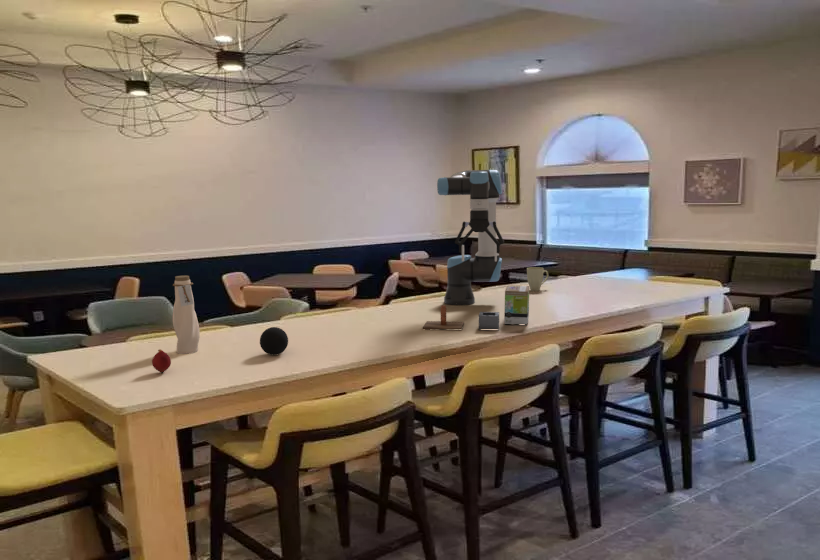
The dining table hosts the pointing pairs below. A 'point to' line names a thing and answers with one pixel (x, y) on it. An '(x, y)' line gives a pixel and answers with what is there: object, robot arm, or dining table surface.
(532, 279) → the mug
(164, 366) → the onion
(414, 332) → the dining table surface
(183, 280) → the water bottle
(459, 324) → the keeper
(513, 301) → the tea box
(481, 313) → the grey square hollow block
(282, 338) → the speaker
